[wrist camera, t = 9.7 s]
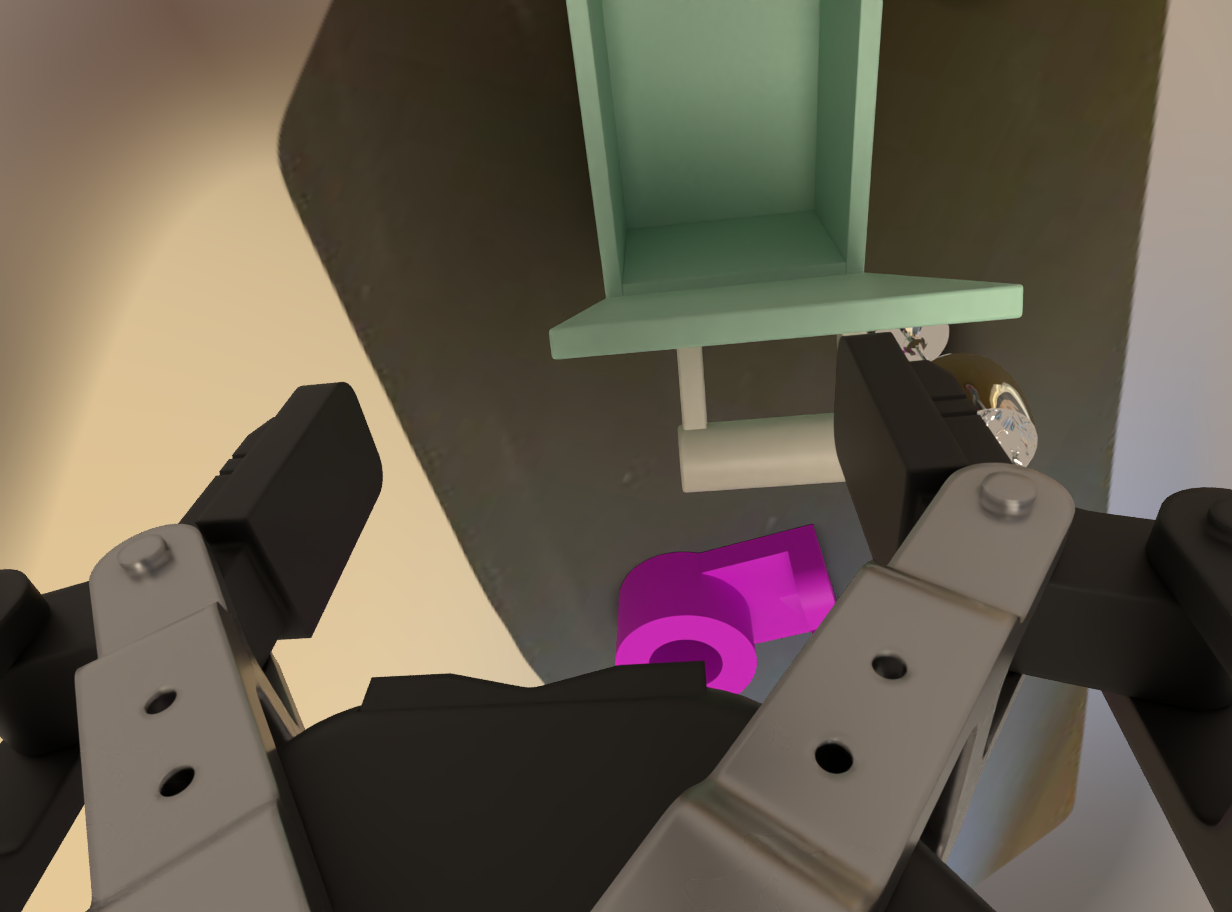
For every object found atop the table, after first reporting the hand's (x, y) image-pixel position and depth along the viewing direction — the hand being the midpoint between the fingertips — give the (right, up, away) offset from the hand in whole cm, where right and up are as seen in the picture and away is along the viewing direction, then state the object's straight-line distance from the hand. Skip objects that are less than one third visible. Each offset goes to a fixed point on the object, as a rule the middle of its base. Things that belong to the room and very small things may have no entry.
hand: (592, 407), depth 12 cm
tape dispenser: (+8, -11, +44) cm, 46 cm away
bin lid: (+5, +5, +13) cm, 15 cm away
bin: (+5, +18, +24) cm, 31 cm away
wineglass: (+18, +6, +32) cm, 37 cm away
